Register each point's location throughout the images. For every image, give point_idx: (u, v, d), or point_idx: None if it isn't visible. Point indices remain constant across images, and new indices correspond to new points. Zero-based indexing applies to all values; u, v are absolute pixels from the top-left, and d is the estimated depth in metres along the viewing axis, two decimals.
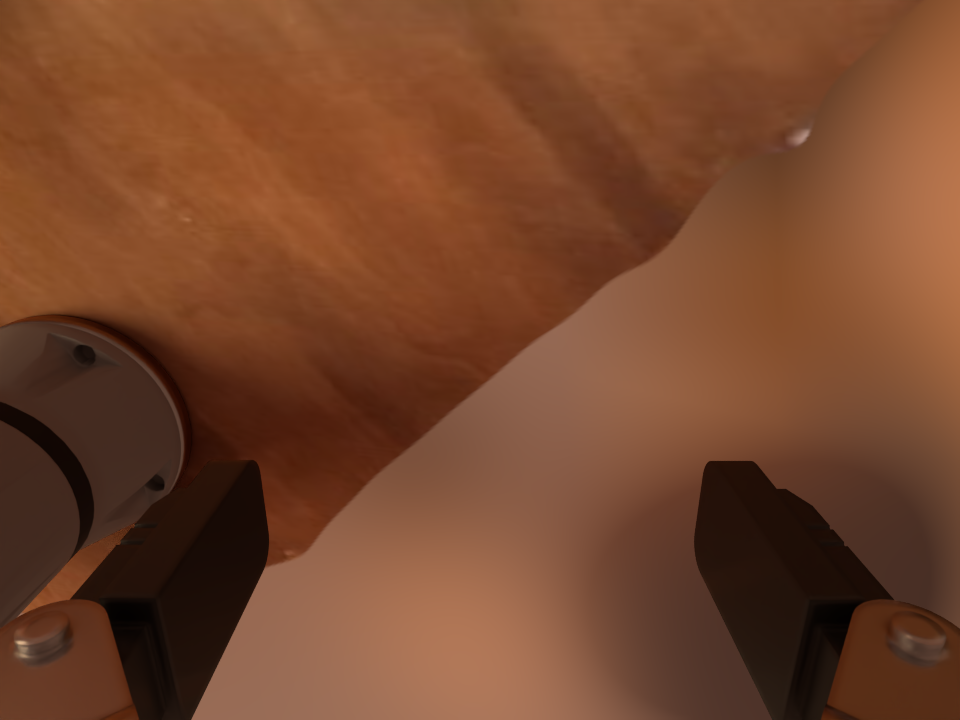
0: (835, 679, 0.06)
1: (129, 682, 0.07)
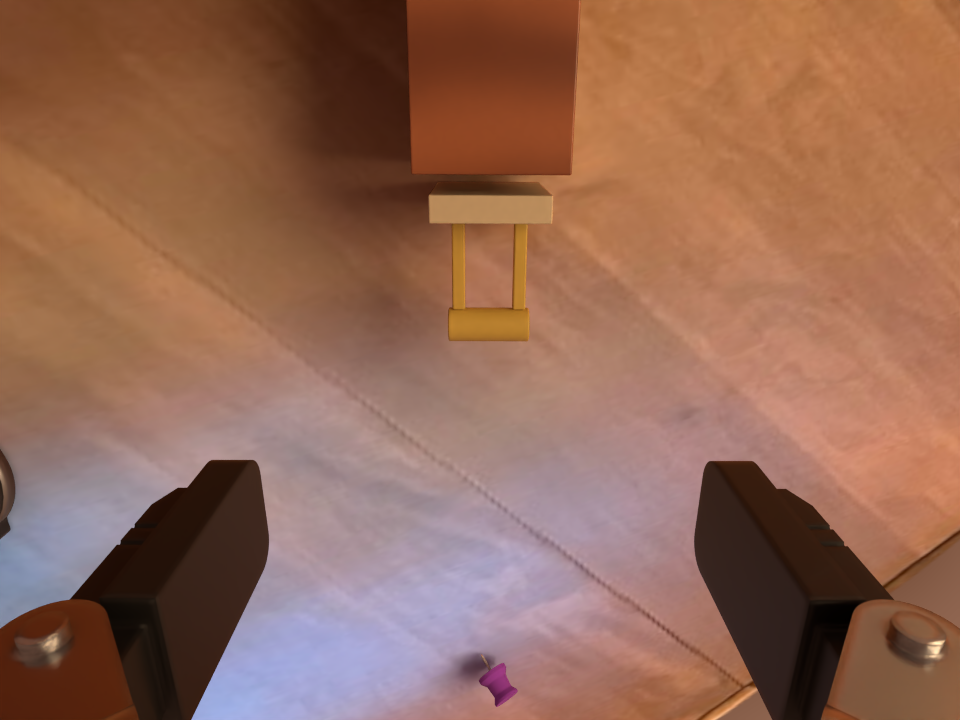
0: (835, 679, 0.06)
1: (129, 682, 0.07)
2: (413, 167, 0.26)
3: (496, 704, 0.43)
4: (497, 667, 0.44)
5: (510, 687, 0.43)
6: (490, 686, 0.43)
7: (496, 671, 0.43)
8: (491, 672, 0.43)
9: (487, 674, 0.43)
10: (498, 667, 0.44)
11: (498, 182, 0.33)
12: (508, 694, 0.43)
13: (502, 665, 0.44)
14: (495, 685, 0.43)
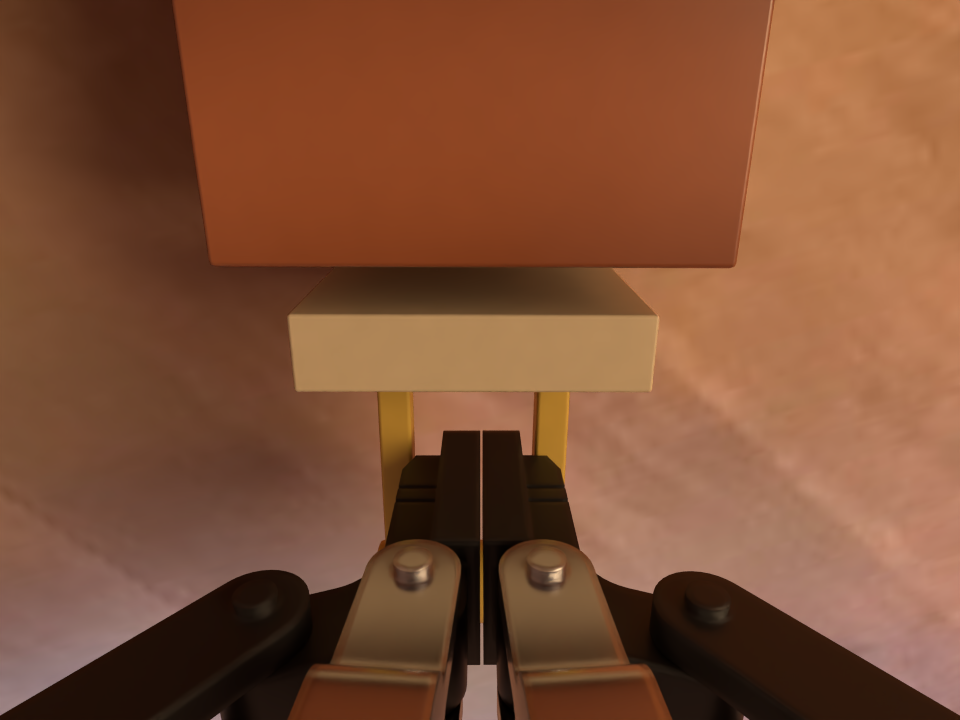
0: (510, 639, 0.07)
1: (465, 613, 0.08)
2: (212, 245, 0.08)
3: None
4: None
5: None
6: None
7: None
8: None
9: None
10: None
11: None
12: None
13: None
14: None
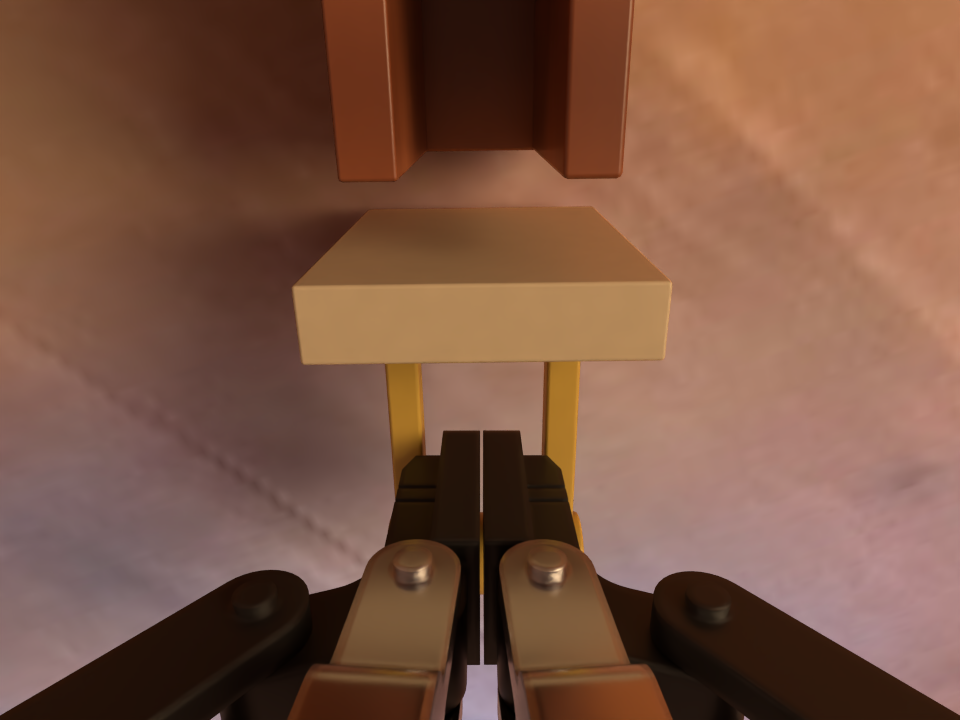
0: (511, 639, 0.07)
1: (465, 613, 0.08)
2: None
3: None
4: None
5: None
6: None
7: None
8: None
9: None
10: None
11: (503, 209, 0.15)
12: None
13: None
14: None
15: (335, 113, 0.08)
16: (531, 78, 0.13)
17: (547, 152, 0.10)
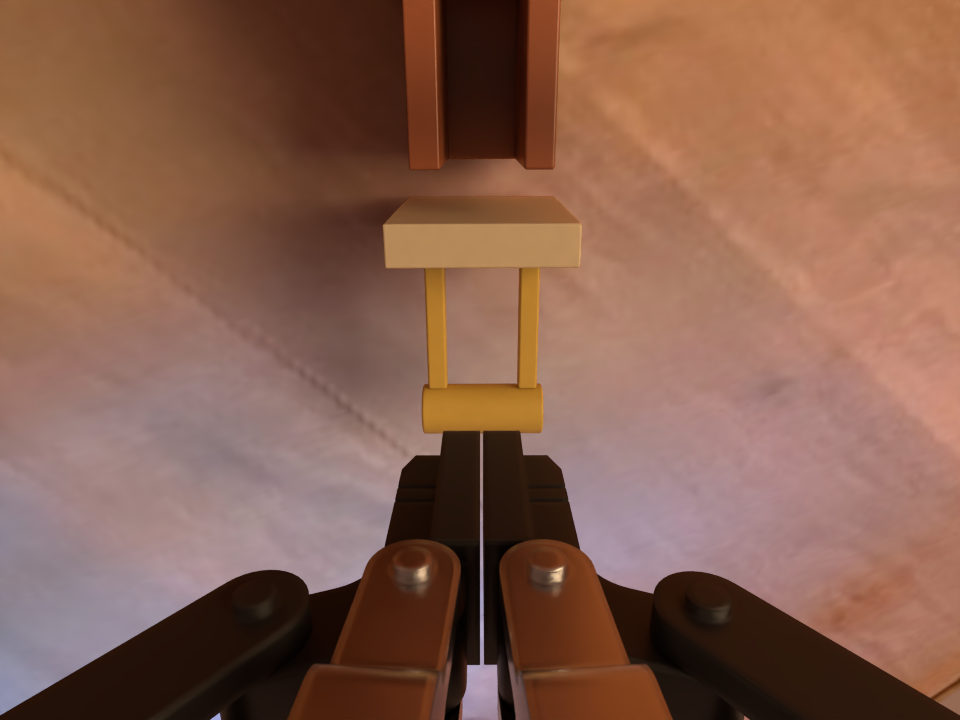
0: (511, 639, 0.07)
1: (465, 614, 0.08)
2: None
3: None
4: None
5: None
6: None
7: None
8: None
9: None
10: None
11: (495, 197, 0.23)
12: None
13: None
14: None
15: (409, 135, 0.16)
16: (513, 115, 0.21)
17: (519, 157, 0.18)
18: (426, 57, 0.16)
